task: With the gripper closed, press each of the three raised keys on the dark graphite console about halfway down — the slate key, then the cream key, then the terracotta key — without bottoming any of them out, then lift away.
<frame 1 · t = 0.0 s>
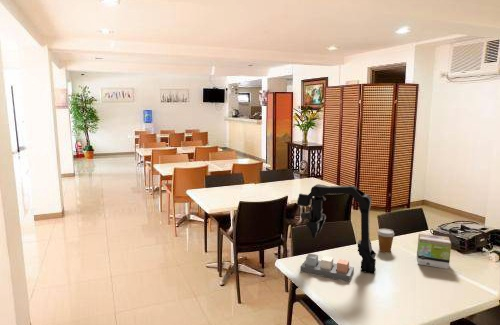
hand: (316, 235, 193), 15 cm above the table, fingers open, 9 cm apart
cream key: (327, 263, 180), point 5 cm above the table, slide at 0.0 cm
slate key: (312, 260, 183), point 5 cm above the table, slide at 0.0 cm
terracotta key: (342, 266, 176), point 5 cm above the table, slide at 0.0 cm
disposable coffee cup: (384, 250, 209), on the table
console: (326, 272, 181), on the table
tea box: (432, 263, 191), on the table
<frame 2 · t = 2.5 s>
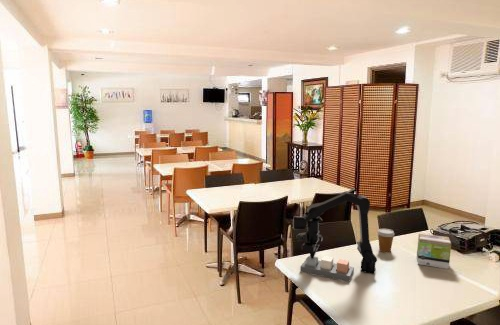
hand: (312, 258, 183), 6 cm above the table, fingers closed, pressing on slate key
slate key: (312, 262, 183), point 4 cm above the table, slide at 1.0 cm, touching gripper
everything else where it was.
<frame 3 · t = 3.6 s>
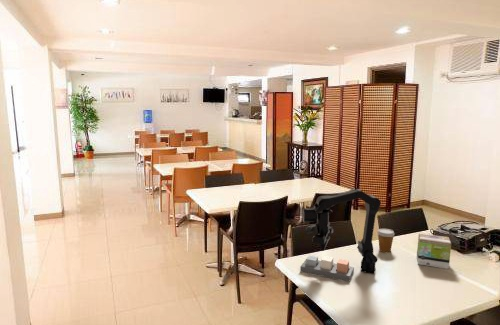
hand: (323, 250, 180), 11 cm above the table, fingers closed
slate key: (312, 262, 183), point 4 cm above the table, slide at 1.1 cm
everything else where it was.
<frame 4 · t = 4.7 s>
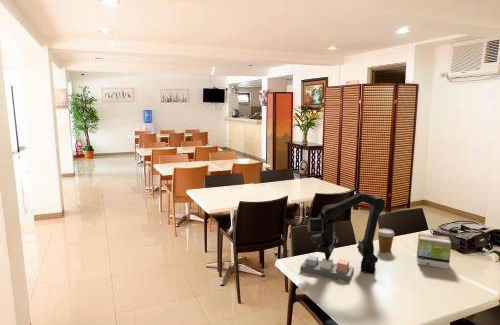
hand: (327, 259, 180), 7 cm above the table, fingers closed, pressing on cream key
cream key: (327, 264, 180), point 4 cm above the table, slide at 0.6 cm, touching gripper
everything else where it was.
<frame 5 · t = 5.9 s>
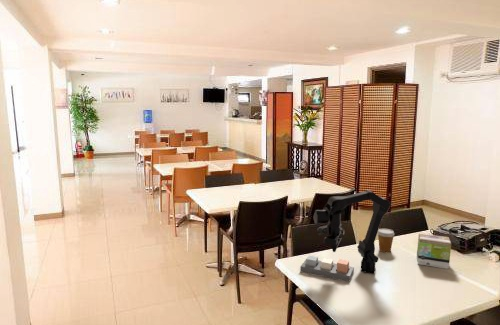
hand: (334, 251, 178), 12 cm above the table, fingers closed
cream key: (327, 265, 180), point 4 cm above the table, slide at 1.1 cm
everything else where it was.
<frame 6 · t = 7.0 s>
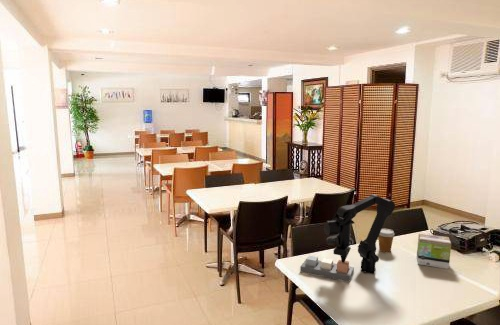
hand: (343, 262, 176), 7 cm above the table, fingers closed, pressing on terracotta key
terracotta key: (342, 266, 176), point 5 cm above the table, slide at 0.2 cm, touching gripper
everything else where it was.
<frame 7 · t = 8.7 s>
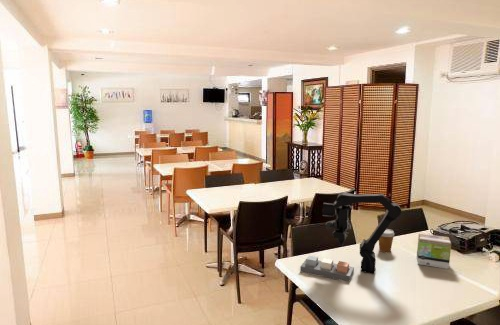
hand: (341, 245, 185), 12 cm above the table, fingers closed
terracotta key: (342, 268, 176), point 4 cm above the table, slide at 1.1 cm
everything else where it was.
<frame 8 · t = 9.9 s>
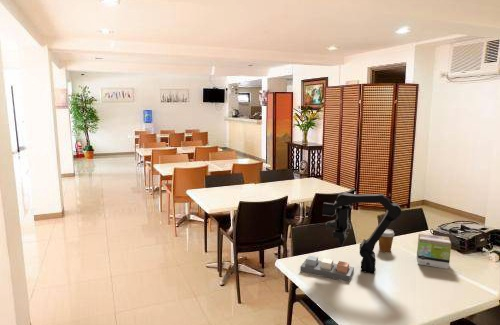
hand: (341, 245, 185), 12 cm above the table, fingers closed
nothing on the table moved.
at the end: slate key slide at 1.1 cm; cream key slide at 1.1 cm; terracotta key slide at 1.1 cm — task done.
